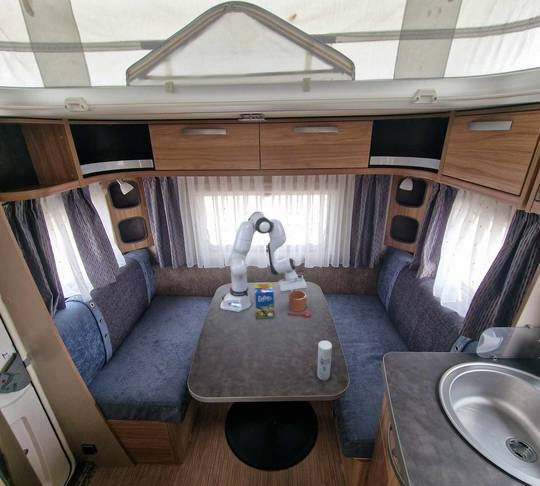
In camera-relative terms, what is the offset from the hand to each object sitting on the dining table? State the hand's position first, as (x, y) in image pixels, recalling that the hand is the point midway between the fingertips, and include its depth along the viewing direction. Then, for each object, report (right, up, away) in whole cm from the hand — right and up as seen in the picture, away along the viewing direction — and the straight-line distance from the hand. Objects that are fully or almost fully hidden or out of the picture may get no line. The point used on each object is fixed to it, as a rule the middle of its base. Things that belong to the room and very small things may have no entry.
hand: (295, 296), depth 208 cm
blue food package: (-21, -12, -13) cm, 28 cm away
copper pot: (+1, -7, -4) cm, 8 cm away
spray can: (+9, -25, -67) cm, 72 cm away
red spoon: (+2, -12, -13) cm, 18 cm away
